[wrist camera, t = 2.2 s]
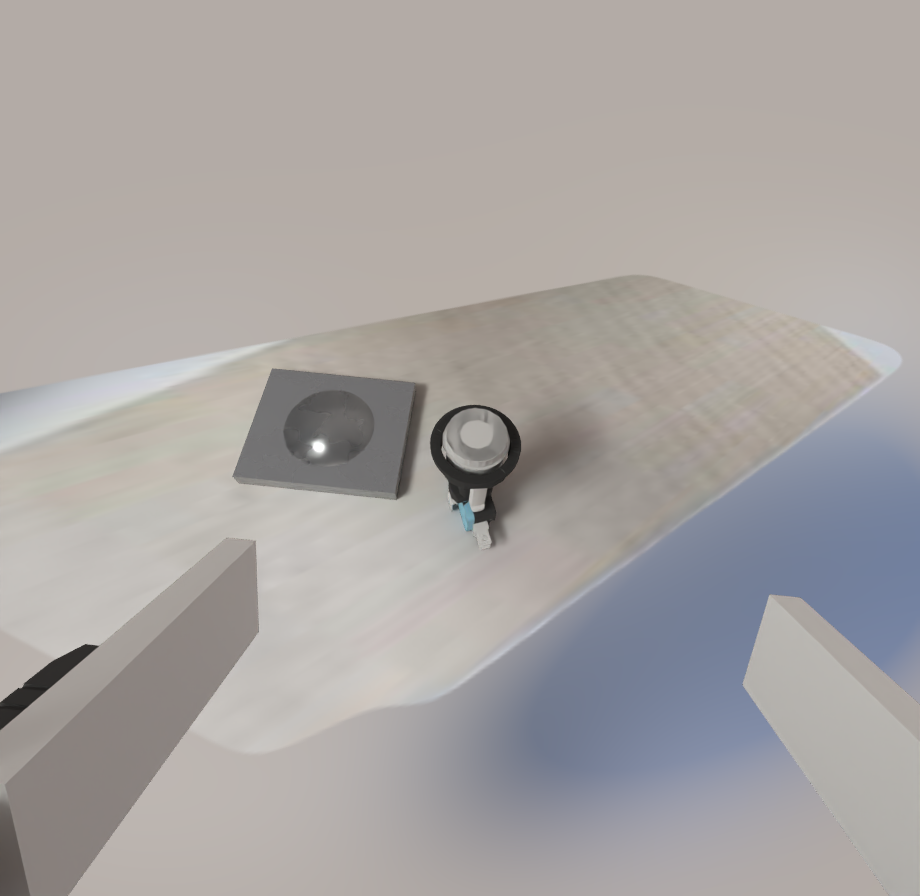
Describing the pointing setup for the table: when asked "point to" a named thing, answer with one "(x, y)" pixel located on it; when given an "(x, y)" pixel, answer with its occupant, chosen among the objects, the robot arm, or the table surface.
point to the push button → (475, 461)
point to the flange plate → (328, 434)
